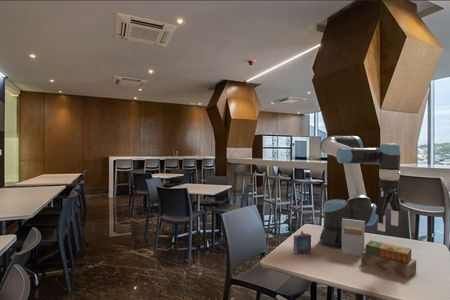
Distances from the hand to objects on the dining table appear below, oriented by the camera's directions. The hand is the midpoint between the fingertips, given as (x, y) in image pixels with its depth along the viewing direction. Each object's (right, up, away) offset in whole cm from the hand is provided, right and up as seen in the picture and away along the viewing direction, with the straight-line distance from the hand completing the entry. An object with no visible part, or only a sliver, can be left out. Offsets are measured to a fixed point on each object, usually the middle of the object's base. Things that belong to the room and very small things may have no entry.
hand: (388, 228), depth 118 cm
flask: (-33, -17, +15) cm, 40 cm away
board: (-8, -17, +15) cm, 24 cm away
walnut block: (0, -17, 0) cm, 17 cm away
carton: (0, -12, 0) cm, 12 cm away
